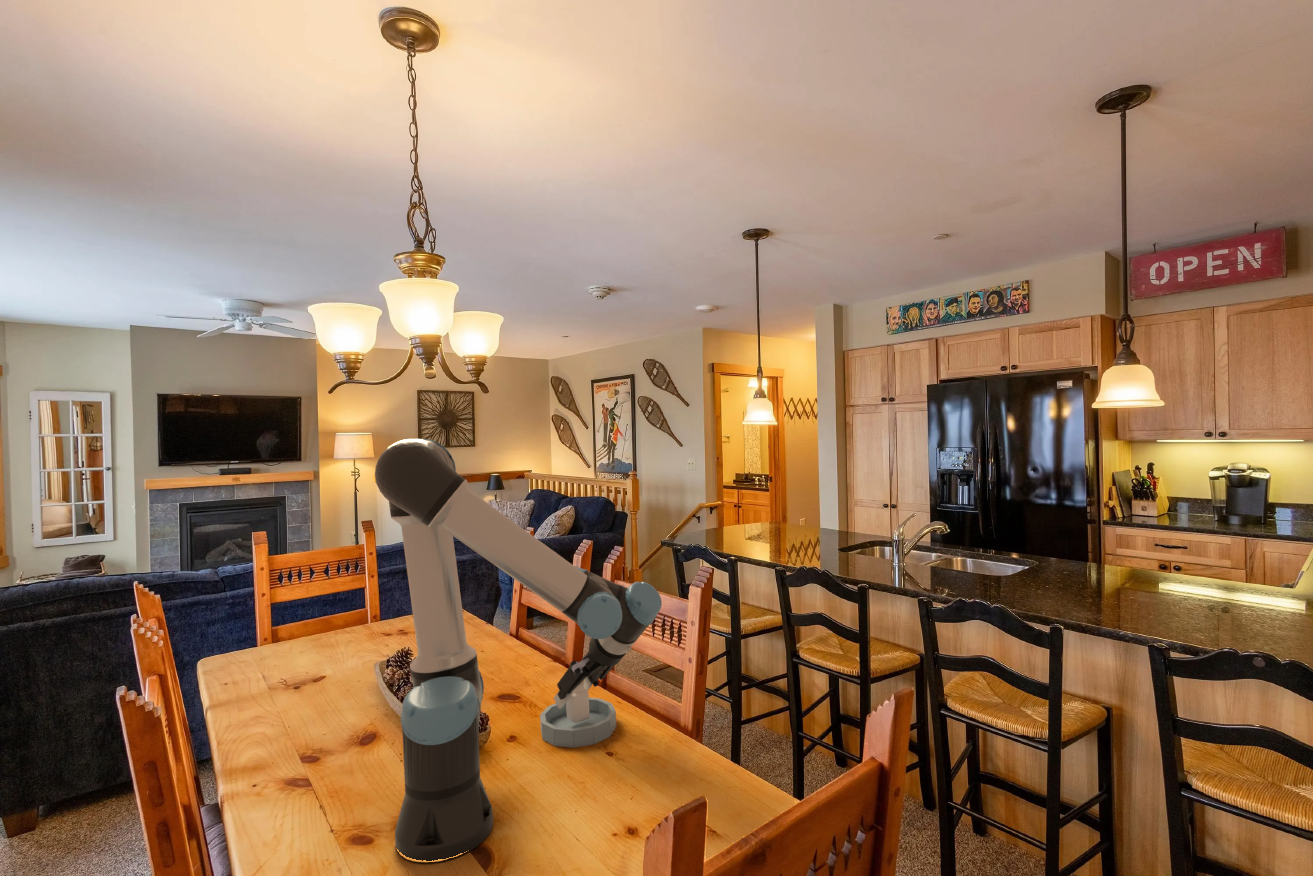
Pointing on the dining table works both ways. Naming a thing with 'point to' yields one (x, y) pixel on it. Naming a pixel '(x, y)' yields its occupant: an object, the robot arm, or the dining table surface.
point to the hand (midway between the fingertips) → (567, 699)
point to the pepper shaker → (578, 704)
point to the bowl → (578, 725)
